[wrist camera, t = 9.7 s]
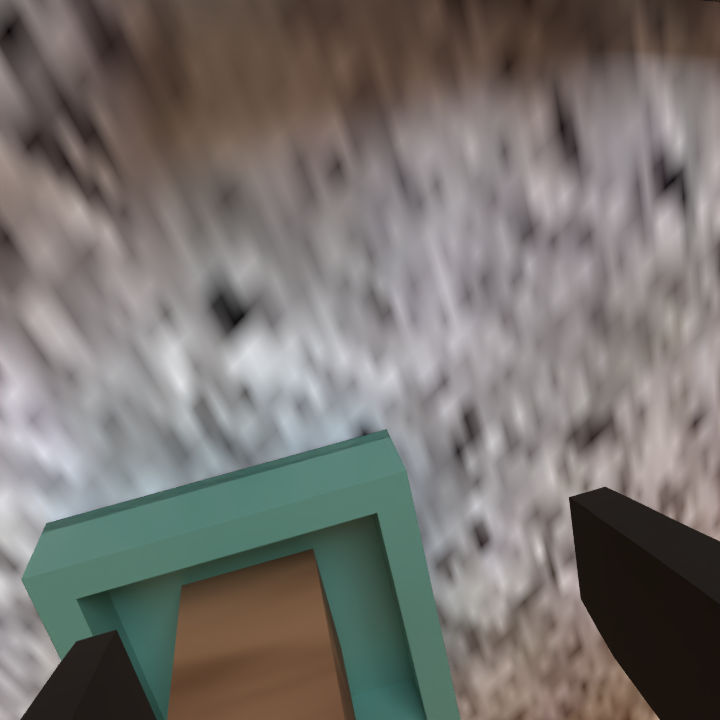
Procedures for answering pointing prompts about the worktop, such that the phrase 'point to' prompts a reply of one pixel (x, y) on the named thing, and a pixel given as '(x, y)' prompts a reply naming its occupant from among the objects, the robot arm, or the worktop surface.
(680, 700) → the robot arm
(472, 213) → the worktop surface
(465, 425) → the worktop surface
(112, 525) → the teal well
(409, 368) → the worktop surface
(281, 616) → the walnut post
